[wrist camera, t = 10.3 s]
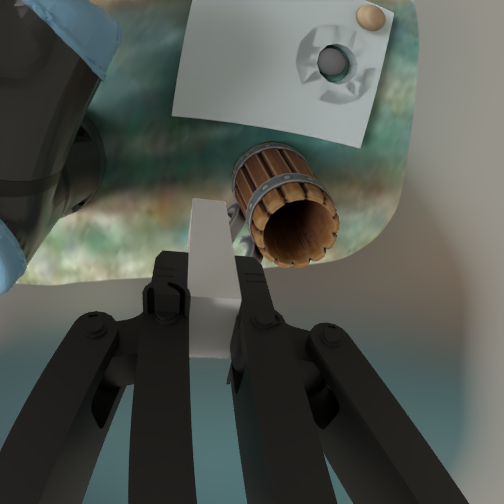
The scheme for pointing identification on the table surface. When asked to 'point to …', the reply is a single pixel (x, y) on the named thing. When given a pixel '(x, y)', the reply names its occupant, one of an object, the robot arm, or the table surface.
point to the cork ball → (370, 17)
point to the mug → (281, 207)
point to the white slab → (280, 66)
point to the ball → (331, 61)
